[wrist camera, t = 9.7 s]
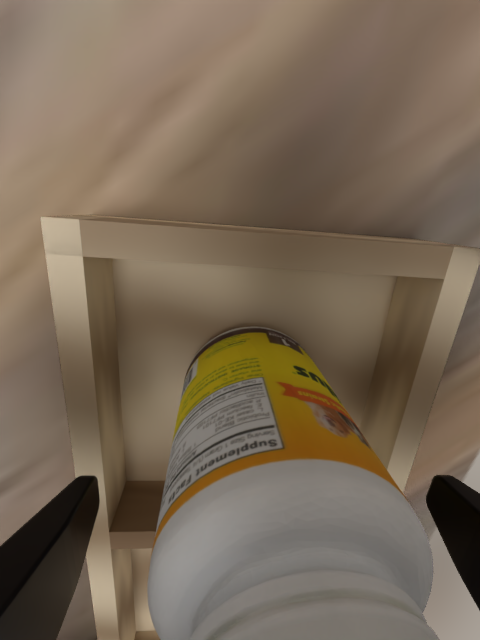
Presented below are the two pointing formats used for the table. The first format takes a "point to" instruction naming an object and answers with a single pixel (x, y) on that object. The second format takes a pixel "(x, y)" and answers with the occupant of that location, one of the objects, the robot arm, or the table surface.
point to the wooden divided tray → (214, 319)
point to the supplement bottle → (280, 510)
